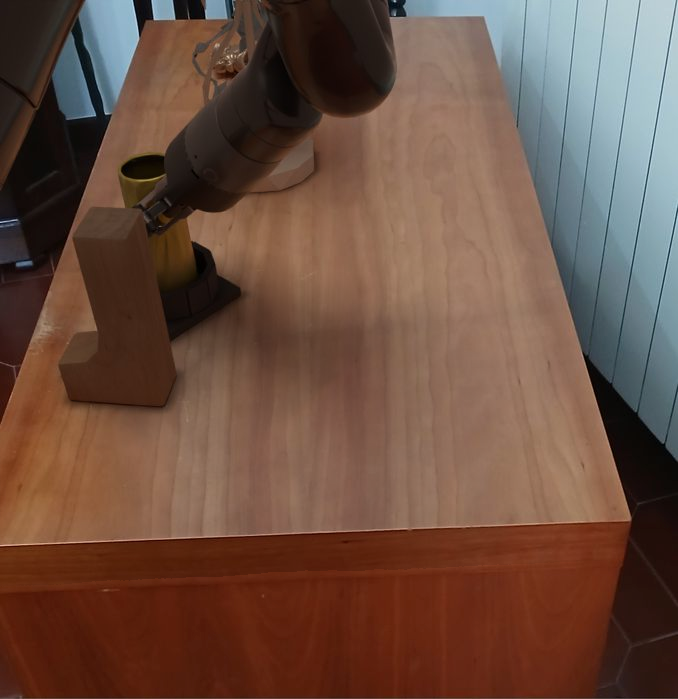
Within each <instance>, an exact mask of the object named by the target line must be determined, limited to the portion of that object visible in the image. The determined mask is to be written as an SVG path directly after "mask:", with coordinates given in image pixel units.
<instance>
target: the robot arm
mask: <svg viewBox="0 0 678 699" xmlns="http://www.w3.org/2000/svg"><path fill="white" fill-rule="evenodd" d="M259 1H260V2H261V3H262V5H263V7H264V10H265V12H266V14H267V17H268V20H267V22H266V24H265V26H264V28H263V30H262V32H261V34H260V36H259V38H258V40H257V41H256V42H255V44H256V45H255V47H254V50H253V53H252V55H251V57H250V60H249V62H248V63H247V65H246V66H245V67H244V68H243V69H242V70H241V71H240V72H238V73H237V74H236V75H235V76H233V78H232V79H231V80H230V81H229V83H227V85H226V87H225V88H224V89H223V90H222V91H221V92H220V93H219V94H217V95H216V96H215V97H213V96H212V97H213V98H212V97H211V99H209V101H208V102H207V103H206V104H205V105H204V104H203V106H202V107H201V108H200V109H199V111H198V112H197V113H196V114H195V115H194V116H193V117H192V118H191V119H190V120H189V122H188V123H187V124H186V125H184V127H183V128H182V129H181V130H180V131H179V133H177V135H176V136H175V137H174V138H173V139H172V140H171V141H170V143H169V145H168V146H167V148H166V149H165V153H164V154H165V158H164V167H165V173H166V176H165V177H163V178H162V179H161V180H160V181H159V182H158V183H157V184H156V186H155V189H154V190H153V191H152V192H151V193H149V194H148V195H147V196H146V197H145V198H144V199H143V200H141V201H140V202H139V203H138V204H137V205H135V206H133V207H132V208H136V209H141V210H142V211H143V216H144V220H145V225H146V230H147V235H148V239H150V238H151V237H153V236H154V235H157V236H161V235H163V234H164V233H166V232H167V231H168V230H170V229H171V228H172V227H173V226H174V225H176V224H177V223H178V222H179V221H180V220H181V219H186V218H187V219H188V218H189V217H190V216H192V215H193V214H195V212H197V211H201V212H204V213H209V214H211V213H212V214H217V213H223V212H226V211H229V210H230V209H231V208H233V207H234V206H236V205H237V204H238V203H239V202H240V201H241V200H242V199H244V198H245V197H246V196H248V194H250V191H252V190H253V189H254V188H255V187H256V186H257V185H258V184H260V183H261V182H262V181H263V180H264V179H265V178H266V177H268V176H269V175H270V174H271V173H272V172H273V171H274V170H275V169H276V167H277V166H278V165H279V164H280V162H281V161H282V160H283V158H284V157H285V156H286V155H288V154H289V153H290V152H291V151H292V150H293V149H294V148H296V147H297V146H298V145H299V144H300V143H301V142H303V141H304V140H305V139H306V138H307V137H308V136H309V137H310V135H312V134H313V132H314V131H315V130H316V128H318V126H319V125H320V123H321V122H322V119H323V115H325V116H328V117H333V118H338V119H352V118H353V119H354V118H360V117H362V116H365V115H368V114H370V113H372V112H373V111H375V110H376V109H378V108H379V107H380V106H381V105H382V104H383V103H384V102H385V101H386V100H387V99H388V98H389V96H390V94H391V93H392V90H393V88H394V86H395V83H396V79H397V73H398V63H397V54H396V48H395V47H396V46H395V43H394V36H393V29H392V23H391V16H390V10H389V9H390V8H389V3H388V0H259ZM85 2H86V0H0V192H1V191H2V189H3V185H4V184H5V183H6V180H7V178H8V175H9V173H10V171H11V169H12V167H13V165H14V162H15V160H16V158H17V156H18V154H19V152H20V149H21V147H22V145H23V144H24V141H25V139H26V137H27V134H28V132H29V130H30V128H31V125H32V123H33V121H34V120H35V117H36V114H37V111H38V110H39V108H40V107H41V103H42V101H43V98H44V97H45V94H46V91H47V89H48V87H49V84H50V82H51V79H52V77H53V74H54V71H55V69H56V66H57V64H58V62H59V60H60V57H61V55H62V53H63V50H64V48H65V46H66V43H67V41H68V39H69V37H70V34H71V32H72V30H73V28H74V26H75V23H76V21H77V19H78V17H79V14H80V13H81V10H82V8H83V7H84V4H85ZM153 199H154V200H153ZM152 200H153V201H154V205H153V206H152V207H150V202H151V201H152ZM161 214H163V215H164V216H165V217H166V218H172V219H171V220H170V221H169V222H168V223H167V224H165V223H163V222H162V221H161V220H160V219H159V218H158V216H160V215H161ZM173 217H174V218H173Z"/></svg>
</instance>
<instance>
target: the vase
mask: <svg viewBox="0 0 678 699" xmlns="http://www.w3.org/2000/svg"><path fill="white" fill-rule="evenodd" d="M164 158H165V153H163V152H158V151H152V152H151V151H150V152H142V153H138V154H135V155H134V154H133V155H132V156H129V157H127V158H125V159H124V160H123V161H121V163H120V164H119V165H118V167H117V176H118V182H119V186H120V190H121V196H122V199H123V203H124V208H132V207H133V206H135V205H137V204H138V203H139V202H140V201H141V200H143V199H144V198H145V197H146V196H147V195H148V194H149V193H151V192H152V191H153V190H154V189H155V186H156V184H157V183H158V182H159V181H160V180H161V179H162V178H163V177H165V176H166V173H165V167H164ZM153 200H154V199H153ZM153 200H152V201H151V202H150V207H152V206H153V205H154V201H153ZM158 218H159V219H160V220H161V221H162V222H163V223H165V224H167V223H168V222H169V221H170V220H171V219H172V218H166V217H165V216H164V215H163V214H161V215H160V216H158ZM173 218H174V217H173ZM191 241H192V239H191V234H190V228H189V224H188V218H186V219H181V220H180V221H179V222H178V223H177V224H176V225H174V226H173V227H172V228H171V229H170V230H168V231H167V232H166V233H164V234H163V235H161V236H157V235H154V236H153V237H151V238H150V239H149V244H150V249H151V254H152V259H153V263H154V268H155V273H156V278H157V283H158V287H159V292H160V293H164V292H169V291H173V290H178V289H183V288H185V287H186V286H188V285H190V284H191V283H193V282H194V281H196V280H198V279H199V276H198V273H197V268H196V261H195V257H194V252H193V248H192V243H191Z"/></svg>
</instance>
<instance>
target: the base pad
mask: <svg viewBox="0 0 678 699" xmlns="http://www.w3.org/2000/svg"><path fill="white" fill-rule="evenodd" d="M191 243H192V248H193V252H194V257H195V261H196V268H197V273H198V276H199V279H198V280H196V281H194V282H193V283H191V284H190V285H188V286H186V287H185V288H183V289H178V290H173V291H169V292H164V293H160V297H161V302H162V306H163V311H164V316H165V320H166V325H167V330H168V335H169V339H170V342H171V341H172V340H174V339H175V338H177V337H179V336H181V334H184V333H185V332H186V331H188V330H189V329H191V328H192V327H194V326H196V325H197V324H199V323H200V322H202V321H203V320H205V319H206V318H208V317H209V316H211V315H213V314H214V313H216V312H217V311H218V310H220V309H222V308H223V307H225V306H227V305H228V304H230V303H231V302H233V301H234V300H236V299H238V298H239V297H240V296H242V292H241V287H240V286H238V285H236V284H235V283H233V282H231V281H230V280H228V279H226V278H224V277H223V276H221V275H219V274H218V271H217V265H216V262H215V261H216V260H215V257H214V256H213V252H212V251H211V250H210V249H209V248H208V247H205V246H204V245H202V244H200V243H198V242H197V241H193V240H191Z"/></svg>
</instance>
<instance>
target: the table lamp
mask: <svg viewBox="0 0 678 699" xmlns="http://www.w3.org/2000/svg"><path fill="white" fill-rule="evenodd" d="M200 2H201V5H202V7H203V9H204V11H206V10H207V0H200ZM232 4H233V8H234V10H233V11H232V14H231V16H232V17H234V18H233V19H232V20H229V21H228V22H226V23H225V24H223V25H222V26H220V29H221V30H219V31H218V33H216V34H215V35H214V36H213V37H212V38H211V39H210V40H207V41H206V42H201V41H200V42H198V43H196V45H195V48H194V51H193V52H192V60H191V63H192V65H193V66H194V68H195V70H196V71H197V73H198V74H199V75H201V76H202V77H204V79H203V82H202V86H201V87H202V97H203V106H204V105H205V104H206V103H207V102H208V101H209V100H210V98H209V97H210V96H209V94H210V88H211V82H212V84H213V86H214V88H213V94H212V97H211V99H212V98H213V97H215V96H216V95H217V94H219V93H220V92H221V91H222V90H223V89H224V88H225V87H226V86H227V85H228V79H226V80H225V81H224V82H222V83H220V84H218V80H216V79H215V78H212V75H213V74H212V73H213V69H215V67H214V66H215V64H216V63H217V61H218V60H219V58H220V56H221V55H222V53H223V52H224V50H225V48H226V47H227V45H228V44H230V42H231V41H232V39H233V37H234V35H235V34H236V33H237V34H238V35H239V37H240V40H239V42H238V45H239V51H240V54H241V53H242V52H243V51H245V50H246V49H247V52H248V61H249V60H250V57H251V55H252V53H253V50H254V47H255V45H256V42H257V40H258V38H259V36H260V34H261V32H262V30H263V28H264V26H265V24H266V22H267V20H268V17H267V14H266V12H265V10H264V7H263V5H262V3H261V1H260V0H232ZM224 34H226V35H225V37H224V38H223V40H222V41H221V42H220V46H219V48H218V49H217V51H216V53H215V54H214V56H213V57H212V59H210V61H209V64H208V67H207V71H206V73H204V72H203V71H202V69H201V67H200V66H199V64H198V62H197V60H196V59H197V56H198V55H199V54H203V53H205V52H206V51H207V50H208V48H209V47H210V44H211V43H212V42H214V41H216V40H218V38H220V37H222V36H223V35H224ZM313 140H314V139H313V138H312V137H311V136H310V135H309V136H308V137H307V138H306V139H305V140H304V141H303V142H301V143H300V144H299V145H298V146H297V147H296V148H294V149H293V150H292V151H291V152H290V153H289V154H288V155H286V156H285V157H284V158H283V160H282V161H281V162H280V164H279V165H278V166H277V167H276V169H275V170H274V171H273V172H272V173H271V174H270V175H269V176H268V177H266V178H265V179H264V180H263V181H262V182H261V183H260V184H258V185H257V186H256V187H255V188H254V189H253V190H252V191H250V192H249V194H251V193H264V192H265V193H266V192H279V191H283V190H285V189H287V188H290V187H293V186H295V185H298V184H300V183H303V181H304V180H306V179H307V178H308V177H309V176H310V175H311V174H313V172H315V156H314V153H315V152H314V143H313V142H314V141H313Z"/></svg>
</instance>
